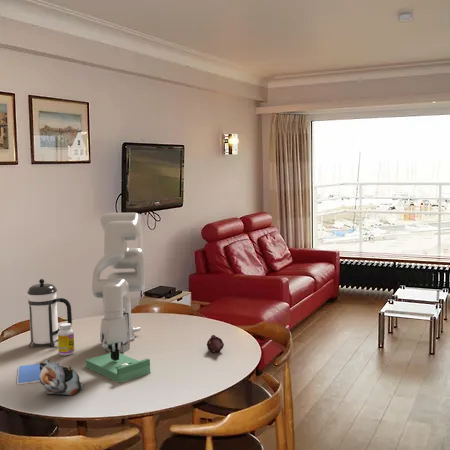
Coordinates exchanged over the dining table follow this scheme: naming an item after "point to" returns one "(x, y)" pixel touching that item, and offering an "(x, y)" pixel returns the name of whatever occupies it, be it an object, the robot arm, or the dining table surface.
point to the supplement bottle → (65, 339)
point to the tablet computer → (28, 374)
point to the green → (118, 367)
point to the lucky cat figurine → (59, 379)
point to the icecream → (215, 344)
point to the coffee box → (127, 344)
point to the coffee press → (44, 313)
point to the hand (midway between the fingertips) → (115, 359)
